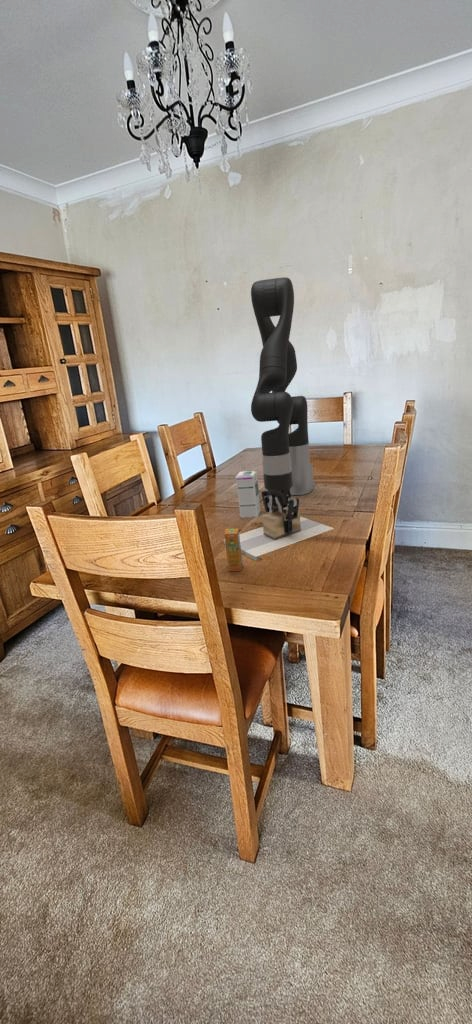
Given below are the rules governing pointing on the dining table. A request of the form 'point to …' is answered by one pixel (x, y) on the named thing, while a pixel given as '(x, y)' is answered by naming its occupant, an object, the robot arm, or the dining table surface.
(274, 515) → the block
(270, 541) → the board
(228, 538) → the supplement box
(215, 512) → the dining table surface
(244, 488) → the syrup box
